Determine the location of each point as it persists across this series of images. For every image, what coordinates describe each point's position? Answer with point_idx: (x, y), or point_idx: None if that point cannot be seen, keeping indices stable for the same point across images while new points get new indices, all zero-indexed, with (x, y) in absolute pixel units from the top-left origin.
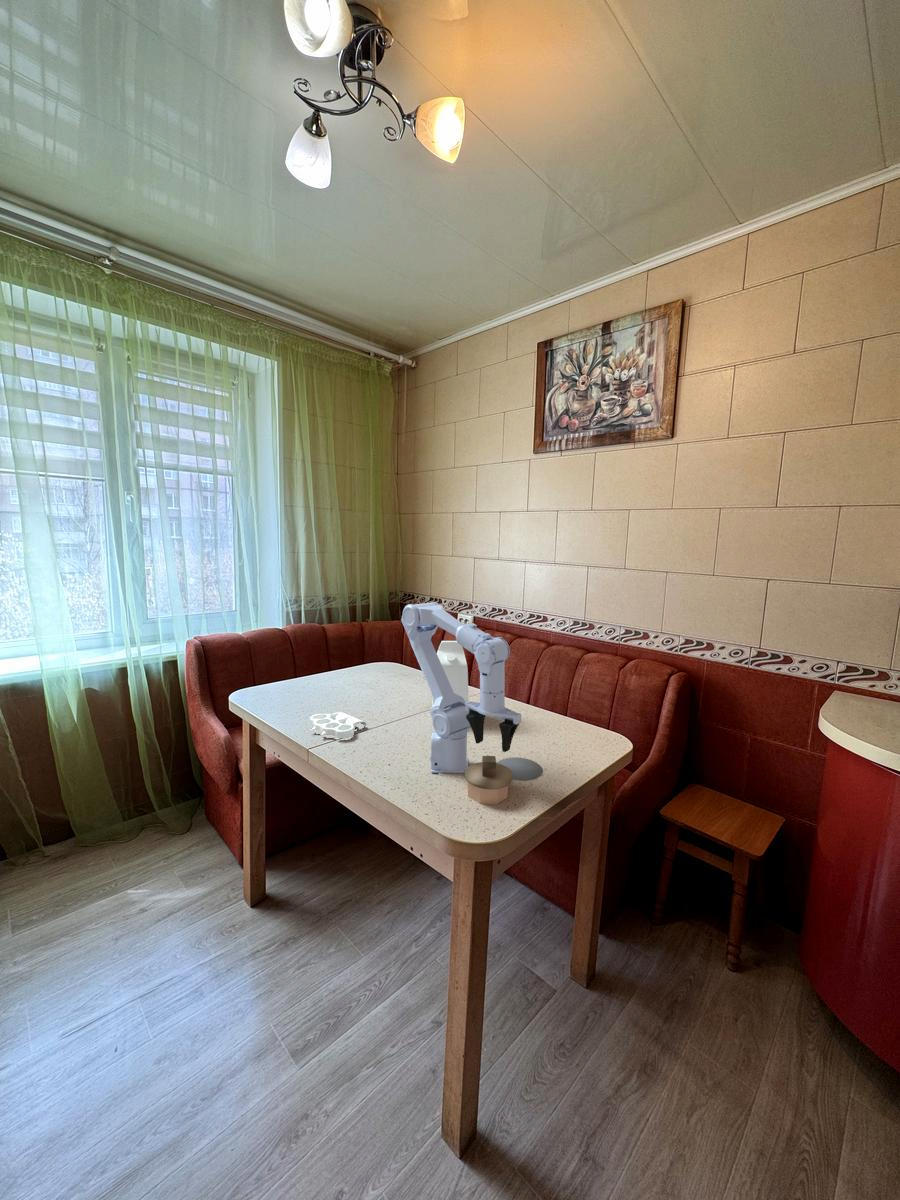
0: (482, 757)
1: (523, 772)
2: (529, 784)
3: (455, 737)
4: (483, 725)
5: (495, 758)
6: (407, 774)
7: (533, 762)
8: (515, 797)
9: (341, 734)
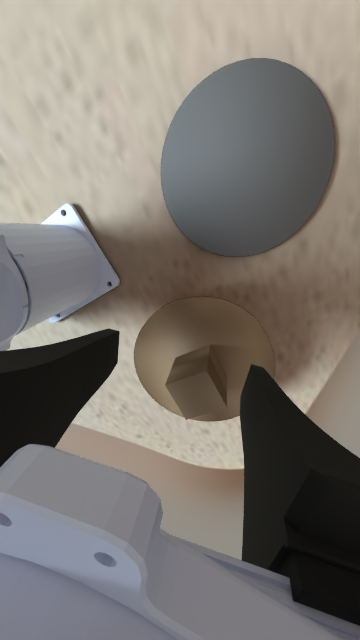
0: (170, 392)
1: (264, 192)
2: (296, 248)
3: (15, 333)
4: (72, 355)
5: (214, 385)
6: (24, 346)
7: (283, 77)
8: (273, 329)
9: None
